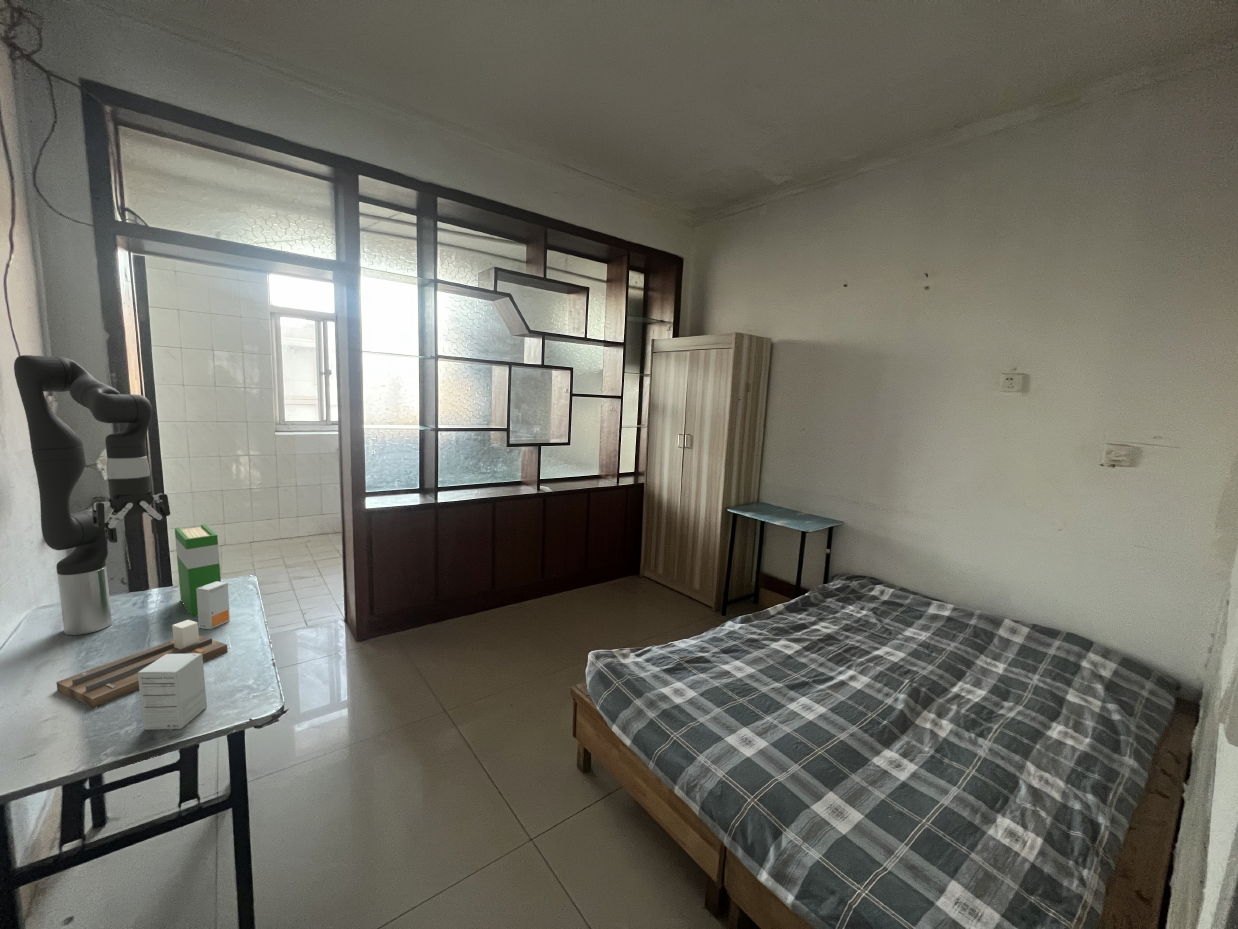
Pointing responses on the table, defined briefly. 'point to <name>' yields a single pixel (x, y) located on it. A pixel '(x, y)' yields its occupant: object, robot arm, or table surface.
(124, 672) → the fader console
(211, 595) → the skincare box
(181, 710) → the supplement box
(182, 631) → the fader tab
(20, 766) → the table surface
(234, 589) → the table surface
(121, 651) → the table surface
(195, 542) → the hardback book
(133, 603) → the table surface
